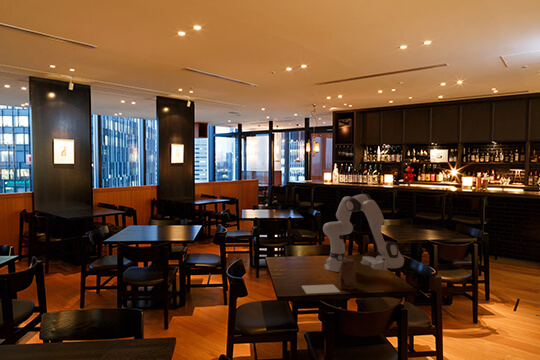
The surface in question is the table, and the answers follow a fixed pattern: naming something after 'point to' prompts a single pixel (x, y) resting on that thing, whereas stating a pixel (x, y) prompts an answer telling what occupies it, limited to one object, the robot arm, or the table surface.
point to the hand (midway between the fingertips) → (361, 262)
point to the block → (347, 274)
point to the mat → (320, 289)
